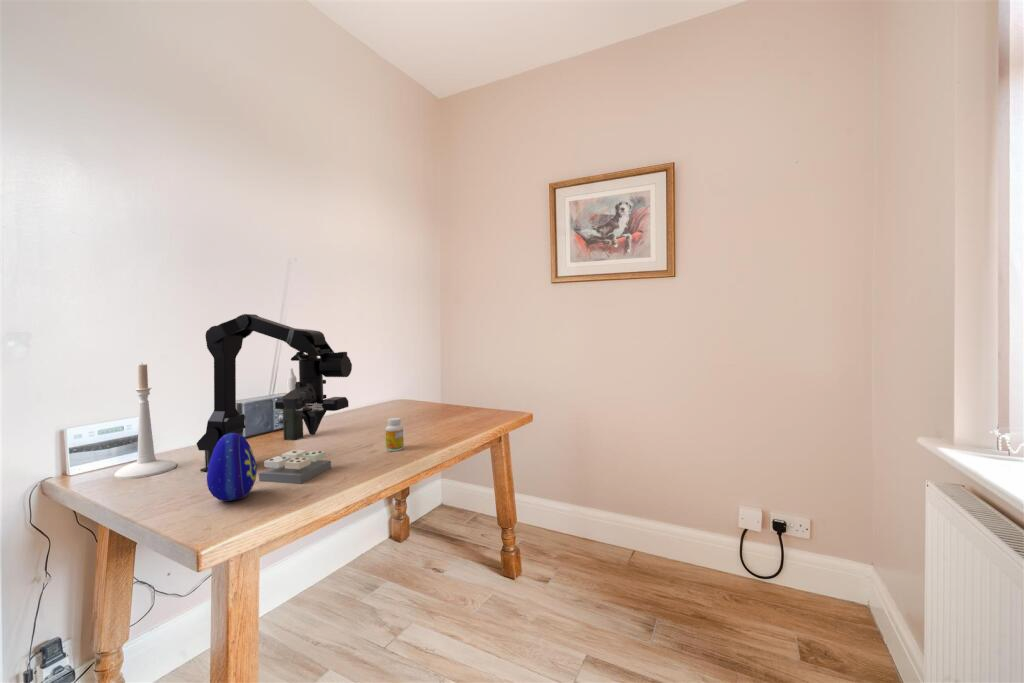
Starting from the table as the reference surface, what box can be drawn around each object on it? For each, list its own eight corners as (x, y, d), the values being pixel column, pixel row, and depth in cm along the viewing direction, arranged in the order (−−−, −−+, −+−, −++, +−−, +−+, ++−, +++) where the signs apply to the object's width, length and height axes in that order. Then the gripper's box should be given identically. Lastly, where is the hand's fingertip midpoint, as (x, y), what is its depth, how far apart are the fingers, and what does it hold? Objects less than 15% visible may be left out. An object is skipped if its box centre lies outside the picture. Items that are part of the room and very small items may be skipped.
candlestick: (160, 476, 109) (156, 363, 108) (101, 481, 106) (96, 365, 105) (185, 461, 122) (181, 360, 121) (133, 465, 118) (129, 361, 118)
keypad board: (259, 480, 105) (258, 473, 105) (293, 465, 116) (293, 458, 116) (300, 483, 102) (300, 475, 102) (330, 467, 114) (330, 460, 114)
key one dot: (282, 459, 111) (281, 453, 111) (293, 455, 115) (293, 449, 115) (295, 460, 110) (295, 454, 110) (306, 455, 114) (306, 449, 114)
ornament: (250, 504, 90) (248, 436, 90) (200, 511, 87) (198, 441, 86) (261, 487, 100) (260, 426, 100) (217, 492, 97) (215, 429, 97)
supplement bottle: (382, 449, 131) (382, 419, 131) (397, 445, 135) (397, 416, 135) (391, 452, 127) (391, 421, 127) (406, 448, 131) (406, 418, 131)
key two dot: (264, 467, 105) (264, 460, 105) (277, 461, 109) (276, 455, 109) (278, 467, 104) (278, 461, 104) (290, 462, 108) (290, 456, 108)
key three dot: (301, 460, 110) (301, 454, 110) (312, 456, 114) (312, 450, 114) (315, 461, 109) (315, 455, 109) (325, 456, 113) (325, 450, 113)
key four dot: (284, 468, 104) (284, 461, 104) (296, 462, 108) (296, 456, 108) (299, 469, 103) (299, 462, 103) (310, 463, 107) (310, 457, 107)
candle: (282, 439, 145) (279, 368, 144) (292, 436, 150) (290, 367, 149) (295, 440, 144) (293, 369, 143) (304, 436, 149) (302, 367, 148)
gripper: (257, 380, 105) (259, 441, 105) (322, 381, 101) (323, 444, 101) (289, 375, 116) (291, 430, 116) (349, 376, 112) (350, 433, 112)
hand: (312, 434), depth 111 cm, fingers closed
